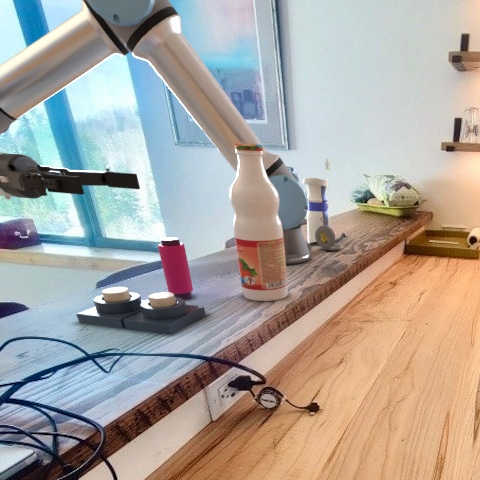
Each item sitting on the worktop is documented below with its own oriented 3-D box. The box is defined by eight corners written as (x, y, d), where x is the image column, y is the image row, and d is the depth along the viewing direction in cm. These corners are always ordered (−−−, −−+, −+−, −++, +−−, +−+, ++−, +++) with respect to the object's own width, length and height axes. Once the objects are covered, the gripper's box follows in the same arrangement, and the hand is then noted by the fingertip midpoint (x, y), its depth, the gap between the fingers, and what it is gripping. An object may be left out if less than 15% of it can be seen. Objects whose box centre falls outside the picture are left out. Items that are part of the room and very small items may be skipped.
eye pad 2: (160, 300, 76) (158, 290, 75) (181, 302, 75) (179, 293, 74) (145, 307, 73) (142, 297, 72) (166, 309, 72) (164, 299, 71)
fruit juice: (287, 302, 88) (273, 145, 74) (240, 302, 86) (216, 142, 72) (289, 289, 96) (277, 145, 82) (246, 289, 94) (225, 142, 80)
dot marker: (179, 293, 90) (166, 236, 84) (199, 295, 89) (187, 237, 83) (165, 299, 86) (150, 239, 80) (185, 302, 85) (172, 242, 79)
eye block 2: (164, 310, 80) (160, 292, 79) (205, 315, 79) (202, 297, 77) (125, 329, 72) (119, 309, 70) (171, 334, 71) (166, 314, 69)
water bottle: (317, 239, 149) (313, 157, 136) (336, 242, 145) (334, 158, 132) (300, 242, 142) (295, 156, 130) (320, 246, 139) (316, 158, 126)
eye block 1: (122, 305, 82) (117, 287, 80) (162, 310, 80) (157, 292, 79) (79, 323, 73) (72, 303, 71) (123, 328, 72) (117, 308, 70)
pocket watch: (340, 247, 139) (339, 214, 134) (343, 252, 132) (342, 218, 127) (314, 247, 137) (313, 213, 132) (316, 252, 130) (315, 217, 125)
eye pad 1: (116, 295, 77) (113, 285, 76) (135, 297, 77) (133, 288, 76) (98, 301, 74) (95, 292, 73) (119, 304, 73) (116, 294, 72)
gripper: (73, 192, 94) (160, 199, 91) (-50, 203, 72) (59, 213, 70) (61, 153, 90) (151, 159, 87) (-72, 152, 69) (42, 160, 66)
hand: (111, 183), depth 78 cm, fingers open, 13 cm apart
